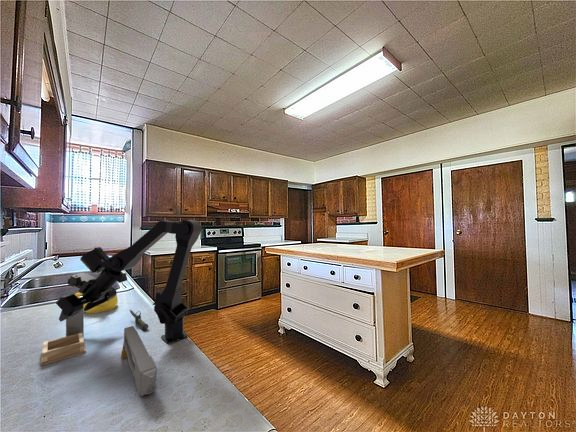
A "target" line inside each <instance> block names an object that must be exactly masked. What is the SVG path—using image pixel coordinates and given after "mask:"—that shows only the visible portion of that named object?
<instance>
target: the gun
mask: <svg viewBox="0 0 576 432" xmlns="http://www.w3.org/2000/svg"><path fill="white" fill-rule="evenodd" d="M126 358H127V361H128V366H129V367H130V369H131V373H132V375H133V378H134V381H135V382H134V383H135V384H134V385H135V388H136V389H135V390H136V393H137V395H138V396H139V397H143V396H146V395H149V394H152V393H154V392H155V391H156V389H157V372H158V371H157V365H156V363H155V361H154V359H153V357H152V355H151V356H150V354H149V353H148V349H147V348H146V346H145V343H144V342H143V340H142V339H141V337H140V335H139V333H138V331H137V329H136V328H135V326H134V325H131V326H128V327H127V326H126V327H124V329H123V343H122V350H121V357H120V359H126Z"/></svg>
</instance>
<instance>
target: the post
mask: <svg viewBox="0 0 576 432" xmlns="http://www.w3.org/2000/svg"><path fill="white" fill-rule="evenodd" d="M84 320H85V319H84V309H82V310H81V311H80V312H79V313H78V314H76V315H74V316H72V317H70V318H68V319H66V320H65V337H66V336H70V335H74V334H78V333H82V334H83V338H84V335H85V334H84V333H85V331H84V329H85V328H84V327H85V326H84V323H85V322H84Z"/></svg>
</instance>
